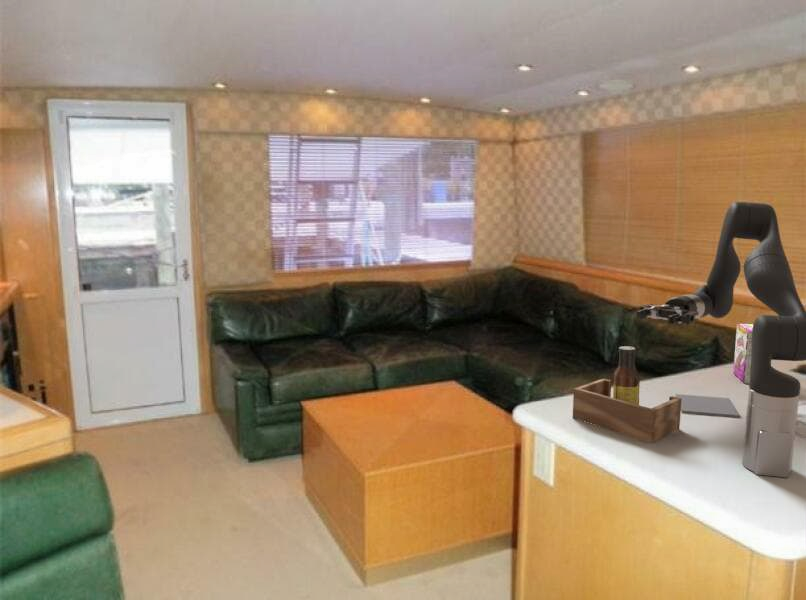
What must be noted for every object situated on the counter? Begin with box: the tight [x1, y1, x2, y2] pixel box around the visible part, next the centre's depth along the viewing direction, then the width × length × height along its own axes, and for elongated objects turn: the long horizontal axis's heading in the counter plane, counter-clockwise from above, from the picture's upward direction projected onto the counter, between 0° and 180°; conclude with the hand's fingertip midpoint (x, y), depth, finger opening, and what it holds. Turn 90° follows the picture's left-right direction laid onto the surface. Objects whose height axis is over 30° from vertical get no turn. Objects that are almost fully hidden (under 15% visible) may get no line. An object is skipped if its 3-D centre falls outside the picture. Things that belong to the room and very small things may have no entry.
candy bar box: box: [732, 323, 754, 385], centre depth 198 cm, size 11×5×16 cm, turn 168°
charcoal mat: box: [674, 393, 741, 419], centre depth 176 cm, size 14×14×1 cm
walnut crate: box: [572, 377, 682, 444], centre depth 163 cm, size 13×22×8 cm, turn 40°
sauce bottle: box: [612, 345, 640, 405], centre depth 162 cm, size 7×6×20 cm
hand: (653, 317), depth 166 cm, fingers open, 8 cm apart
